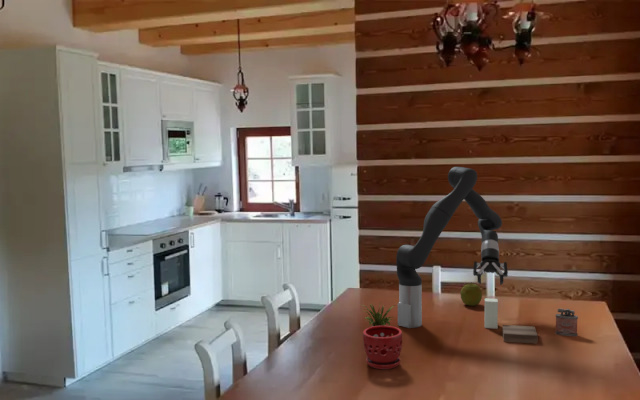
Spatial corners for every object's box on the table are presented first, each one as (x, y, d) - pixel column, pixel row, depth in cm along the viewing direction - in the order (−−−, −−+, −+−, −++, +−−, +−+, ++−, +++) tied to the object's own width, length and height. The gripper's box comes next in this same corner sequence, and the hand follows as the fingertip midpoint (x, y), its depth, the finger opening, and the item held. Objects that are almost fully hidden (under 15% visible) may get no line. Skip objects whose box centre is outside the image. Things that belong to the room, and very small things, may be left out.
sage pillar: (497, 328, 247) (497, 301, 246) (484, 327, 248) (484, 301, 247) (497, 325, 252) (497, 298, 251) (484, 324, 253) (484, 298, 252)
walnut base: (537, 343, 227) (537, 335, 227) (503, 341, 230) (503, 333, 230) (534, 334, 239) (534, 326, 238) (502, 332, 242) (502, 324, 241)
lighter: (577, 334, 238) (578, 309, 237) (577, 336, 235) (577, 311, 234) (555, 331, 241) (555, 307, 240) (554, 334, 238) (555, 309, 237)
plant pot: (362, 358, 214) (362, 325, 213) (400, 358, 213) (400, 324, 212) (364, 372, 201) (363, 336, 200) (404, 372, 200) (404, 336, 199)
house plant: (351, 348, 225) (351, 304, 223) (362, 337, 238) (361, 296, 236) (389, 352, 220) (389, 307, 219) (398, 340, 233) (398, 298, 232)
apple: (465, 301, 291) (465, 278, 290) (485, 304, 286) (485, 281, 285) (457, 305, 283) (457, 282, 282) (477, 308, 278) (477, 285, 277)
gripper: (473, 247, 269) (473, 278, 259) (507, 247, 265) (508, 279, 255) (473, 256, 274) (473, 287, 264) (506, 257, 271) (507, 288, 261)
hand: (490, 283), depth 260 cm, fingers open, 8 cm apart
